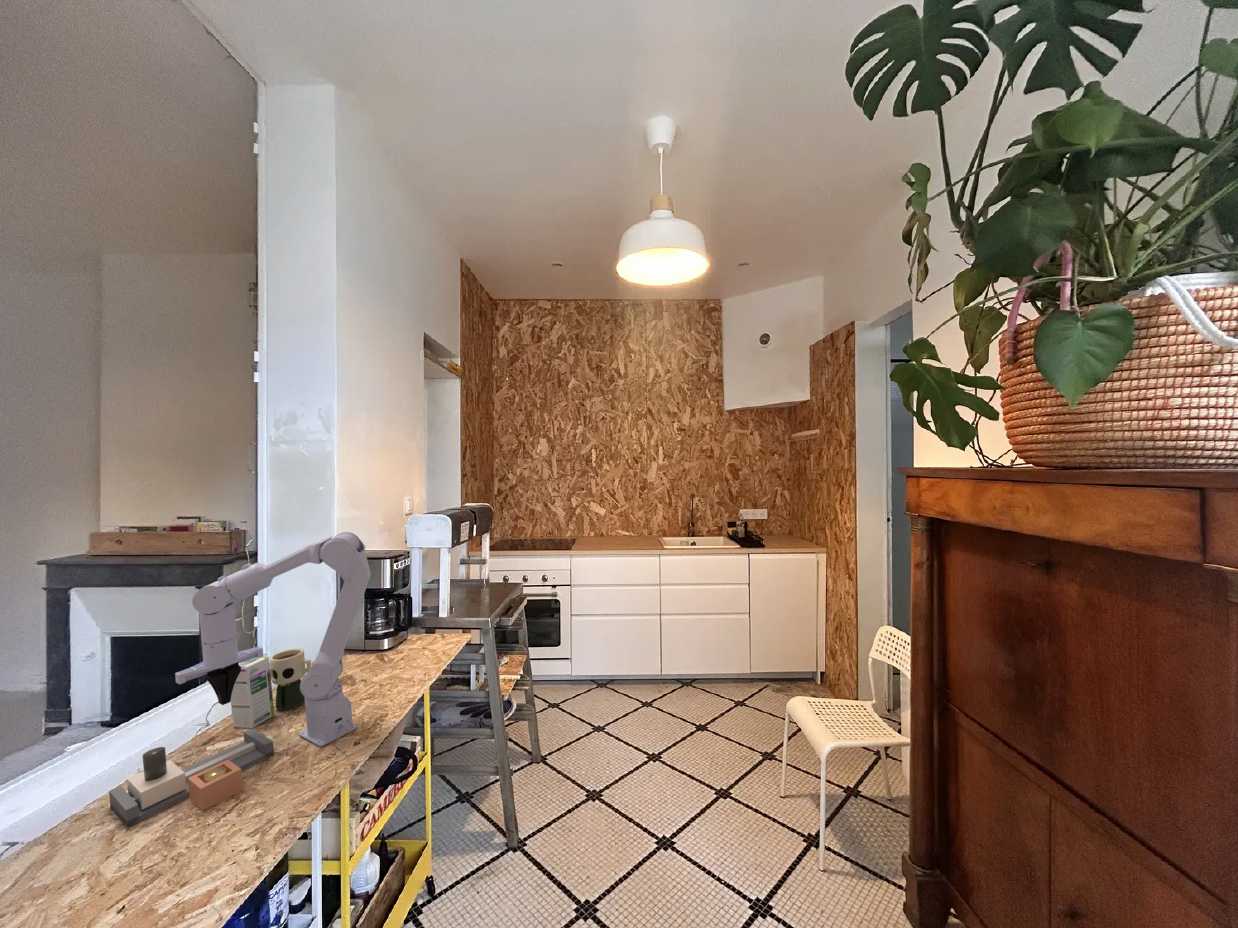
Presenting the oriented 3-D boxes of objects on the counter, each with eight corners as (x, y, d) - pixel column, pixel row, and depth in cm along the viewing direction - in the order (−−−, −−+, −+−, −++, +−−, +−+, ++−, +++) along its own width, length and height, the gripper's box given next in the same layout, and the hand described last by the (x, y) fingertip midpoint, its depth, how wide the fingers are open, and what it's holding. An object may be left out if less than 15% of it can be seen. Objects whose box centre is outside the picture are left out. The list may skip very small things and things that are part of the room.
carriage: (186, 788, 90) (183, 748, 90) (142, 809, 85) (138, 767, 85) (171, 774, 94) (167, 737, 94) (128, 794, 89) (124, 754, 89)
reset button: (230, 785, 90) (228, 769, 90) (208, 796, 88) (207, 780, 88) (223, 780, 92) (221, 764, 92) (201, 790, 89) (200, 774, 89)
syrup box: (252, 728, 112) (247, 666, 112) (231, 727, 113) (226, 665, 113) (275, 715, 118) (270, 655, 117) (254, 714, 119) (249, 655, 118)
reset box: (243, 789, 91) (241, 768, 91) (202, 810, 86) (200, 788, 86) (229, 779, 94) (227, 759, 94) (189, 799, 89) (187, 777, 89)
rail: (274, 754, 101) (272, 740, 101) (127, 827, 83) (125, 810, 83) (252, 741, 107) (251, 728, 107) (110, 807, 88) (109, 790, 88)
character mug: (258, 715, 118) (254, 662, 118) (276, 700, 125) (273, 650, 125) (305, 710, 119) (301, 658, 119) (321, 696, 126) (317, 646, 126)
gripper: (251, 624, 111) (256, 683, 112) (167, 648, 99) (173, 714, 100) (265, 629, 108) (270, 690, 108) (180, 654, 95) (186, 723, 96)
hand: (224, 702), depth 104 cm, fingers closed
